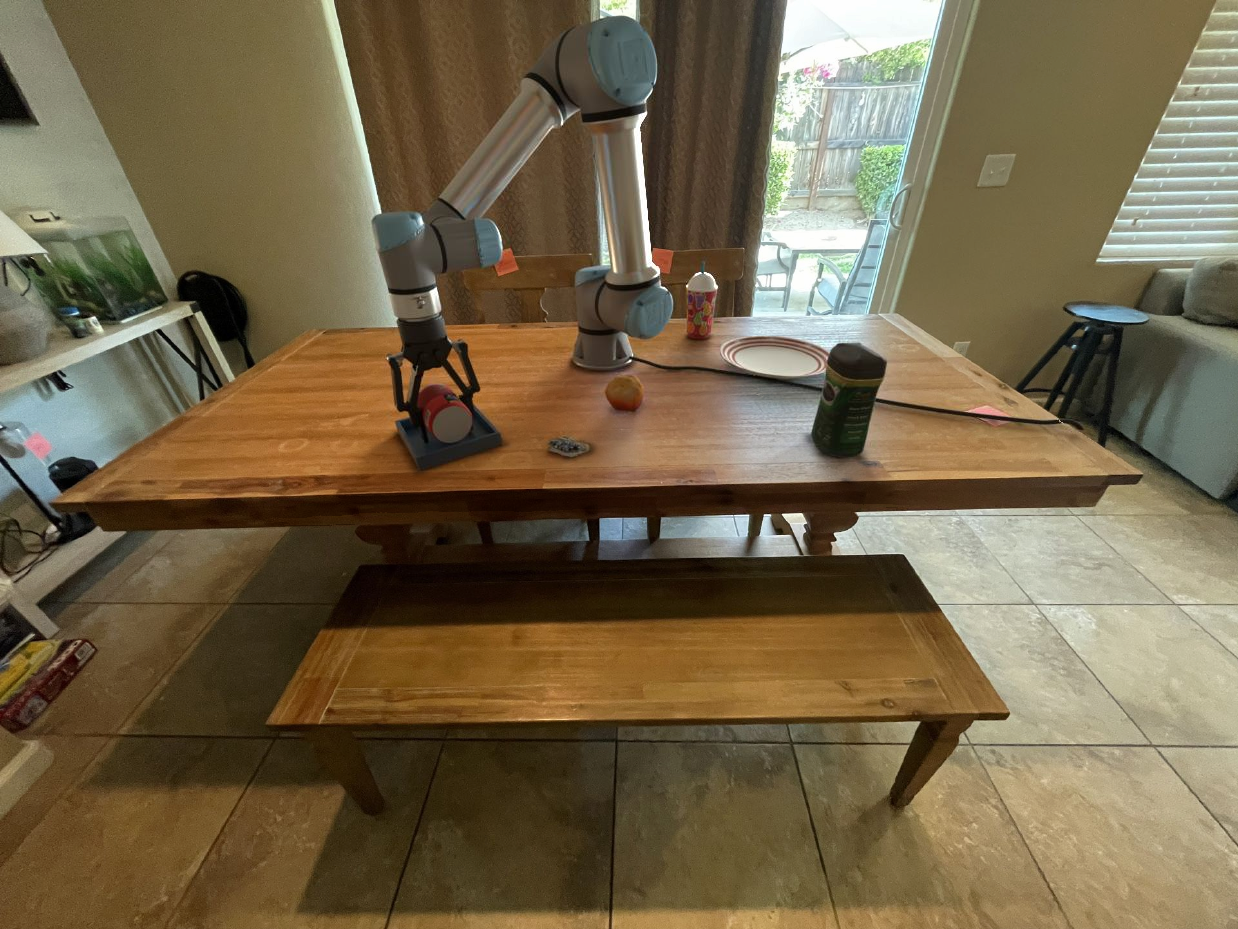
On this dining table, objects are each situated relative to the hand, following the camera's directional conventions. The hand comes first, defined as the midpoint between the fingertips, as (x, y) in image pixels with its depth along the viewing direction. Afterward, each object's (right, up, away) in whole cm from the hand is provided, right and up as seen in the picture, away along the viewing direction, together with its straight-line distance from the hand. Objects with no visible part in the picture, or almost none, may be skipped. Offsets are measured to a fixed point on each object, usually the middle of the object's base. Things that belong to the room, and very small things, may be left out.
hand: (447, 433), depth 97 cm
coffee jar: (+73, -3, -4) cm, 73 cm away
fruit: (+34, +6, +10) cm, 36 cm away
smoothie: (+56, +31, +47) cm, 79 cm away
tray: (0, -1, +1) cm, 1 cm away
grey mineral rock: (+24, -3, -3) cm, 24 cm away
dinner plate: (+72, +18, +28) cm, 79 cm away
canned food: (+3, +1, -7) cm, 8 cm away
